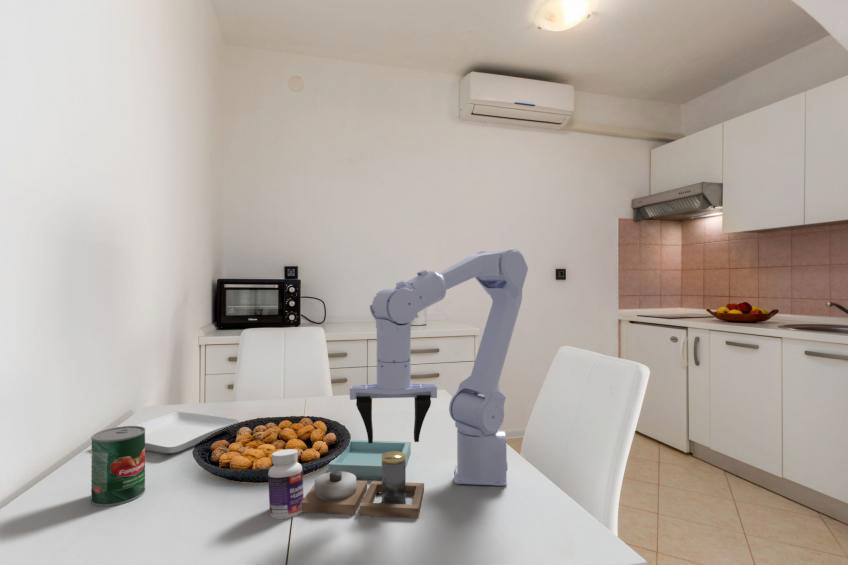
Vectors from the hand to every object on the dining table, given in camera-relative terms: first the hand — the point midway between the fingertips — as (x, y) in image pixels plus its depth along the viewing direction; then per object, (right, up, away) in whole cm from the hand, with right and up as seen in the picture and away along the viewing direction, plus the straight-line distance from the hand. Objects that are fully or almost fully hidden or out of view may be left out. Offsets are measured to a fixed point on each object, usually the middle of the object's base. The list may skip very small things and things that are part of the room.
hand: (393, 440), depth 79 cm
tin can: (0, -10, 0) cm, 10 cm away
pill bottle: (-17, -11, -3) cm, 21 cm away
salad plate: (-54, -11, +32) cm, 64 cm away
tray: (-5, -11, +17) cm, 20 cm away
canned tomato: (-48, -11, +3) cm, 49 cm away
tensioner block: (-5, -10, 0) cm, 11 cm away
